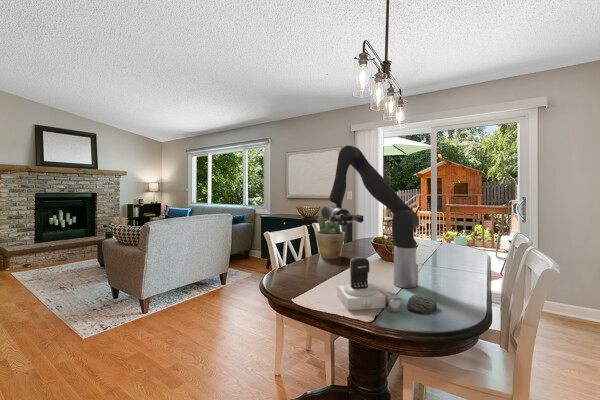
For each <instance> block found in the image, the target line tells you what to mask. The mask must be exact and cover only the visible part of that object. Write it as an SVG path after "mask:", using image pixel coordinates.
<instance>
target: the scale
mask: <svg viewBox="0 0 600 400" xmlns="http://www.w3.org/2000/svg"><path fill="white" fill-rule="evenodd" d="M336 297H338V299H339V301H341V303H342V304H343V306H344V307H345V308H346V310H347V311H353V310H354V311H355V310H357V311H358V310H369V309H371V310H372V309H385V308H386V305H385V294H383V293H382V292H381V291H380V290H378V289H377V288H376V287H375V285H374V286H373V285H372V284H371V283H368V288H363V289H353V288H351V287H350V283H347V284H343V285H341V284H339V285H336Z"/></svg>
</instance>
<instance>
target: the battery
mask: <svg viewBox="0 0 600 400" xmlns="http://www.w3.org/2000/svg"><path fill="white" fill-rule="evenodd" d="M369 273H370V261H369V259H367V258H366V257H364V256H363V257H362V256H361V257H359V256H358V257H352V258H351V259H350V261H349V278H350V281H349V284H350V287H351V288H353V289H363V288H368V284H369V282H368V278H369V277H368V275H369Z"/></svg>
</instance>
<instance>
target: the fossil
mask: <svg viewBox="0 0 600 400" xmlns="http://www.w3.org/2000/svg"><path fill="white" fill-rule="evenodd" d="M406 309H407V311H408V312H410V313H413V314H416V315H422V316H424V315H426V316H427V315H432V314H433V312H434V311H436V310H437V302H436V301H435V299H434V298H432V297H430V296H427V295H425V294H421V293H419V294H413V295H410V297H409V299H408V302H407V306H406Z"/></svg>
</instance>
